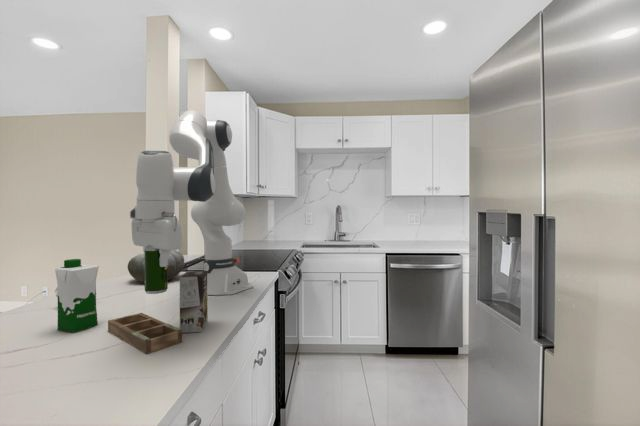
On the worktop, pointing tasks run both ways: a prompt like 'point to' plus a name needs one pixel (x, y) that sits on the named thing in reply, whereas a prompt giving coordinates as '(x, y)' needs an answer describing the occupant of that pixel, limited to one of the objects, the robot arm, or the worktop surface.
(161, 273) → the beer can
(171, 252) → the gourd
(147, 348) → the wooden compartment rack
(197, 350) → the worktop surface
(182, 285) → the coffee box
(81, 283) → the milk carton
